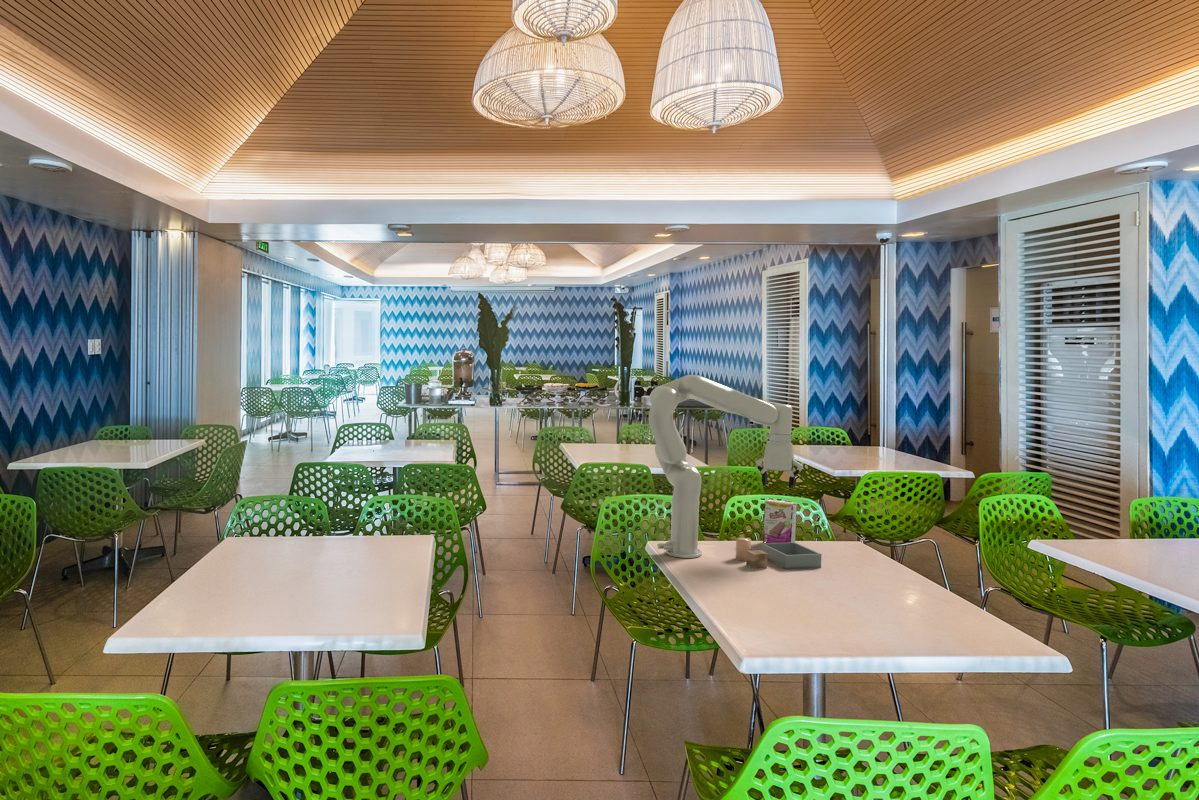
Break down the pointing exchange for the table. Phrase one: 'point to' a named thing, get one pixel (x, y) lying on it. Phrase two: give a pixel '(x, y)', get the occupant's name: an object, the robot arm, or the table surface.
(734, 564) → the table surface
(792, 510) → the candy bar box
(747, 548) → the terracotta cylinder
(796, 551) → the grey tote
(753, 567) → the walnut cube
